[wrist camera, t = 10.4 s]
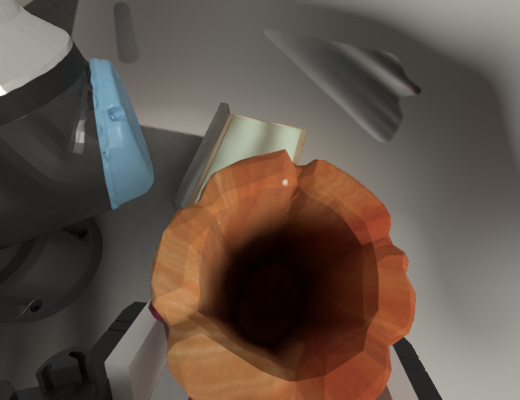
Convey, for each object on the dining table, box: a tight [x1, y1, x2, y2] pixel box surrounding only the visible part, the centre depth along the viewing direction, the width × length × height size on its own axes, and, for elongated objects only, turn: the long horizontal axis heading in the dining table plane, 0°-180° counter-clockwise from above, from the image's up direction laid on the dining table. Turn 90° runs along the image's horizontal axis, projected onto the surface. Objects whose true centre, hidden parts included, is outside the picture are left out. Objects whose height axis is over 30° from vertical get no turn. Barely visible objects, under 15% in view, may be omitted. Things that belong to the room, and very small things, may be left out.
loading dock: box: [172, 103, 307, 210], centre depth 36 cm, size 14×18×6 cm
